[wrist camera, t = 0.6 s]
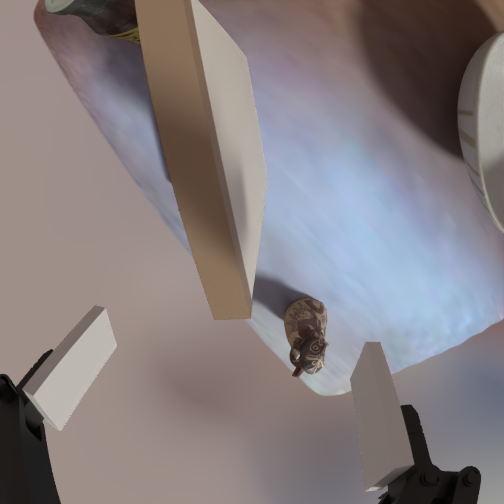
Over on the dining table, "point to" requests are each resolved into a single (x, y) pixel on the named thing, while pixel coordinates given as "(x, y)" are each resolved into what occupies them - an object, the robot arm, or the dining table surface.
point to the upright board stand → (208, 144)
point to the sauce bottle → (102, 16)
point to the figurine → (306, 335)
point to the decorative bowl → (485, 125)
